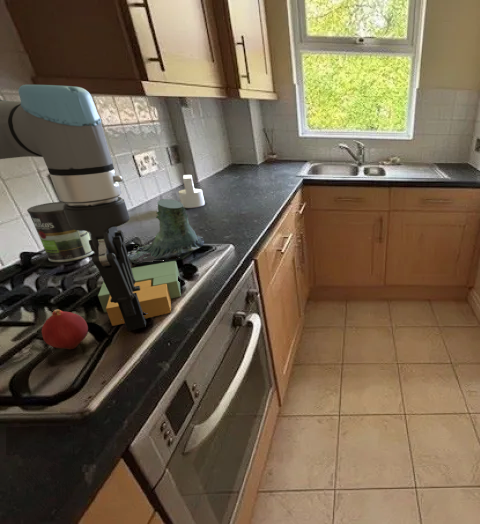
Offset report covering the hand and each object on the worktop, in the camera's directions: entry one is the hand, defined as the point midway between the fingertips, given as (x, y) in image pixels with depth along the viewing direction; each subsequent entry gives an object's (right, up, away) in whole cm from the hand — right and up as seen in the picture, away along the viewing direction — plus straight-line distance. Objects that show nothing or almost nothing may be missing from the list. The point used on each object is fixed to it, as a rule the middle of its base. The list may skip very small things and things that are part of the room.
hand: (137, 326), depth 60 cm
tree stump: (-16, +15, +36) cm, 42 cm away
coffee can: (-42, +14, +33) cm, 55 cm away
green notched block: (-9, +5, +16) cm, 19 cm away
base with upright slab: (-34, +36, +82) cm, 96 cm away
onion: (-10, -3, -2) cm, 11 cm away
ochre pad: (-5, +2, +10) cm, 11 cm away
